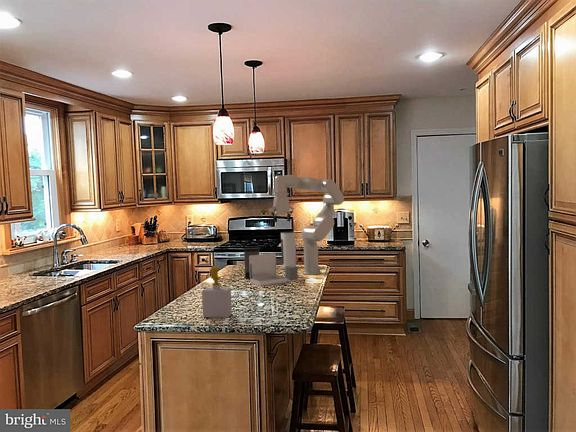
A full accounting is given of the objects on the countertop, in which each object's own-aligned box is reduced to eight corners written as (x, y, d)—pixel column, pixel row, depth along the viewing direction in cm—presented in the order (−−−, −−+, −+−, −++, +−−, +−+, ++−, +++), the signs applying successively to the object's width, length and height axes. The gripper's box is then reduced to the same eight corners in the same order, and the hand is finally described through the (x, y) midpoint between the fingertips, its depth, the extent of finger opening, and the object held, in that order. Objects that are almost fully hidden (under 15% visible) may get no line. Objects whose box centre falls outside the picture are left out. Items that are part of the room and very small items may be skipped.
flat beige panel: (293, 277, 316) (293, 276, 316) (303, 280, 306) (303, 279, 306) (280, 279, 312) (279, 278, 312) (289, 282, 301) (289, 281, 301)
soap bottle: (232, 314, 230) (230, 264, 228) (228, 318, 223) (226, 267, 222) (207, 314, 232) (205, 264, 230) (202, 317, 225) (200, 267, 224)
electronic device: (260, 278, 319) (259, 247, 318) (259, 279, 313) (258, 248, 312) (246, 278, 320) (245, 247, 319) (244, 279, 314) (243, 248, 313)
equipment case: (276, 279, 312) (275, 252, 311) (287, 283, 299) (286, 255, 298) (250, 283, 303) (249, 255, 302) (260, 286, 291) (259, 258, 290)
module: (292, 277, 313) (291, 265, 312) (297, 279, 307) (297, 266, 306) (285, 278, 311) (285, 266, 310) (290, 280, 304) (290, 267, 304)
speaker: (282, 266, 363) (281, 231, 361) (296, 266, 362) (295, 230, 360) (281, 268, 352) (280, 232, 351) (295, 268, 351) (294, 232, 349)
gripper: (290, 194, 322) (291, 220, 323) (266, 195, 313) (267, 222, 314) (295, 194, 315) (296, 221, 316) (271, 195, 307) (272, 222, 308)
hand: (282, 221), depth 315 cm, fingers open, 9 cm apart
